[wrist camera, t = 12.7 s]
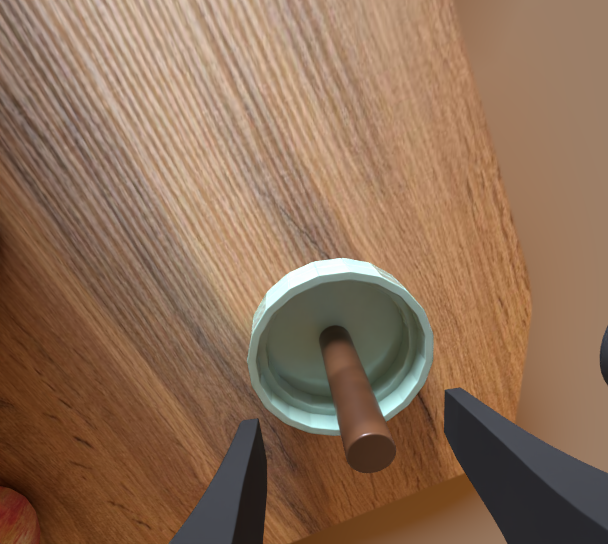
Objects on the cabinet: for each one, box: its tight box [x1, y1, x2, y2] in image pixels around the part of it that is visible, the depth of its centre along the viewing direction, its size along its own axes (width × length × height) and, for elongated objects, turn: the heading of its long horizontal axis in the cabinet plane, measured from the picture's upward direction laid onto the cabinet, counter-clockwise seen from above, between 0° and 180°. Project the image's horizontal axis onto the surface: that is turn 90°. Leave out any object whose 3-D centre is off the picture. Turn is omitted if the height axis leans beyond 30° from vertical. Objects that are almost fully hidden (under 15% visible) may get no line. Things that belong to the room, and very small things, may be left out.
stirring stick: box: [319, 325, 396, 473], centre depth 18 cm, size 2×2×9 cm
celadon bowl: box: [247, 258, 433, 436], centre depth 21 cm, size 11×11×3 cm
